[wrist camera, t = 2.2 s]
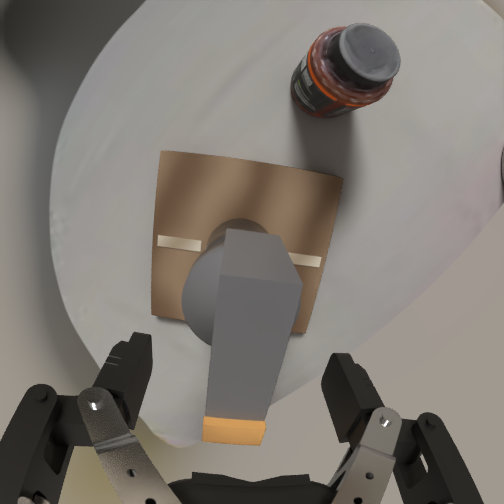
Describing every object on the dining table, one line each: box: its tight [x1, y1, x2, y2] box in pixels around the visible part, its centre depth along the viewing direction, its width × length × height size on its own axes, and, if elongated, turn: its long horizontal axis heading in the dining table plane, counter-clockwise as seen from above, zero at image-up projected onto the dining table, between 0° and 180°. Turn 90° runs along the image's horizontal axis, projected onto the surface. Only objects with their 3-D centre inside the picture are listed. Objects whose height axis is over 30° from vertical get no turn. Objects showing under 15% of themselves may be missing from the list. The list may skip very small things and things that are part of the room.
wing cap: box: [181, 228, 303, 446], centre depth 14 cm, size 9×7×8 cm
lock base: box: [151, 151, 344, 333], centre depth 23 cm, size 16×16×9 cm
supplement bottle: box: [291, 23, 401, 118], centre depth 17 cm, size 6×6×11 cm
